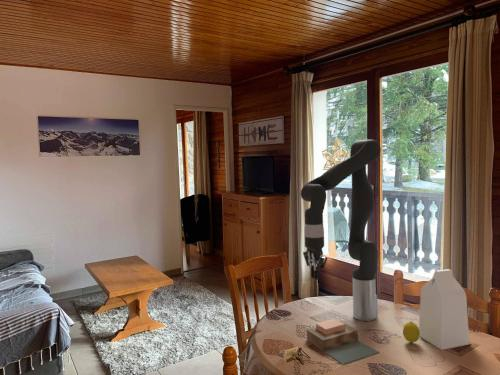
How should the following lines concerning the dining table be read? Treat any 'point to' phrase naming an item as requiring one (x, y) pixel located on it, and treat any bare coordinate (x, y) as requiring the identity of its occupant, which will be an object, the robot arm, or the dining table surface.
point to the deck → (332, 337)
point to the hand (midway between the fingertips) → (315, 278)
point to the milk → (443, 311)
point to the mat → (351, 352)
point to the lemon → (411, 332)
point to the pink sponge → (330, 326)
